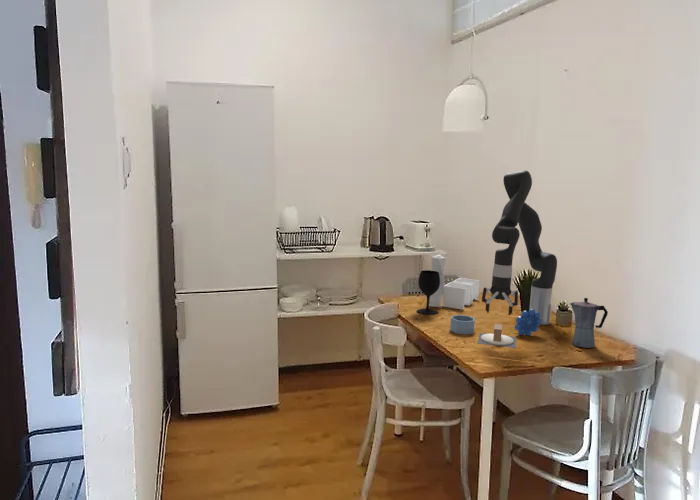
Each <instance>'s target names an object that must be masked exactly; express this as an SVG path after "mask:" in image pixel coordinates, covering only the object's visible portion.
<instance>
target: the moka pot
mask: <svg viewBox="0 0 700 500" xmlns="http://www.w3.org/2000/svg"><path fill="white" fill-rule="evenodd" d="M569 305H571V309H572V311H573V314H574V321H575V323H574V326H575V328H574V332H573V336H572V337H573V338H572V345H573V346H575V347H578V348H585V349H586V348H587V349H589V348H594V347H596V343H595V341H596V340H595V331H594V328H596V329H601V328H602V327H603V325H604V323H605V320H606V319H607V316H608V313H609V312H608V310H607V308H606V307H605V305H599V304H597V303H596V304H595V303H593V302H589V298H587V297H584V298H583V301H578V302H577V301H573V302H571V303H569ZM598 311H603V312H604V313H603V315H602V318H601V320H600V323H599V325H597V324H596V325H595V323H596V317H597V312H598Z"/></svg>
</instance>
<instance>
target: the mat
mask: <svg viewBox="0 0 700 500" xmlns="http://www.w3.org/2000/svg"><path fill="white" fill-rule="evenodd" d="M484 334H485V333H482V332H480V333H479V335H478V338H477V339H478V340H477V344H480V345H488V346H496V347H504V348H512V349H516V348H517V342H516V341H517V338H516V336H511V335H510V336H509V335H508V336H509V337H511V338H512V339H513V343H512V344H510V345H494V344H490V343H486V342H484V341H482V340H481V336H482V335H484Z"/></svg>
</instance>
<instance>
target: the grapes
mask: <svg viewBox="0 0 700 500" xmlns="http://www.w3.org/2000/svg"><path fill="white" fill-rule="evenodd" d="M520 315H521V316H520ZM520 315H518V316H517V317H516V318H515V321H516V324H515V325H514V330H516V331H517V332H518V335H519V336H523V335H525V336H531V335H532V334H533V333H536V332H538V331H539V326H540V324H541V323H542V320H541V319H539V318H540V316H541V314H540V313H539V312H536V313H535V310H534V309H531V310H528V311H527V310H523V311H522V312H521V314H520Z"/></svg>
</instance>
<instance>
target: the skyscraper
mask: <svg viewBox="0 0 700 500" xmlns="http://www.w3.org/2000/svg"><path fill="white" fill-rule="evenodd" d="M442 254H445V256H442ZM447 256H448V253H447V252H444V251H442V252H440V253H439V254H436V255H431V257H430V258H431V271H437V272H439V275H440V286H439V288H438V290H437V291H436V292H435V293H434V294H433V295H431V296H430V298H429V308H430V307H432V308H441V307H442V302H443V293H444V285H445V281H444V280H445V278H444V270H445V265H446V260H447V258H448V257H447Z"/></svg>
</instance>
